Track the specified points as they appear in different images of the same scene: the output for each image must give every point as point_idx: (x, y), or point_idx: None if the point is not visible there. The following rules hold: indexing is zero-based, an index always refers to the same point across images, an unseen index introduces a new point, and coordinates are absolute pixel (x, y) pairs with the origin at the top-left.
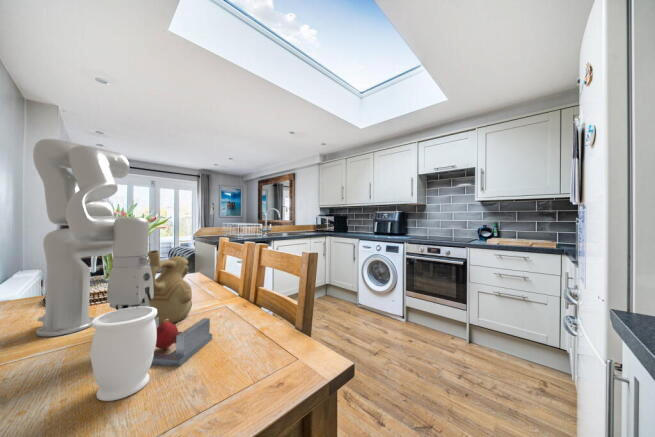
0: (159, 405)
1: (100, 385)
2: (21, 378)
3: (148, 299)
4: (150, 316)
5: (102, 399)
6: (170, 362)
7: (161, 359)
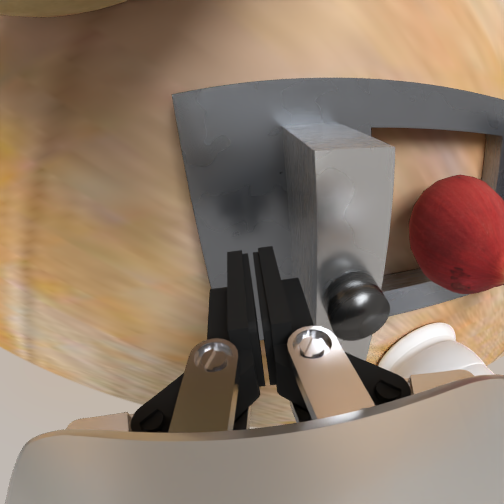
0: (481, 349)
1: None
2: (144, 394)
3: (462, 390)
4: None
5: None
6: None
7: (465, 295)
